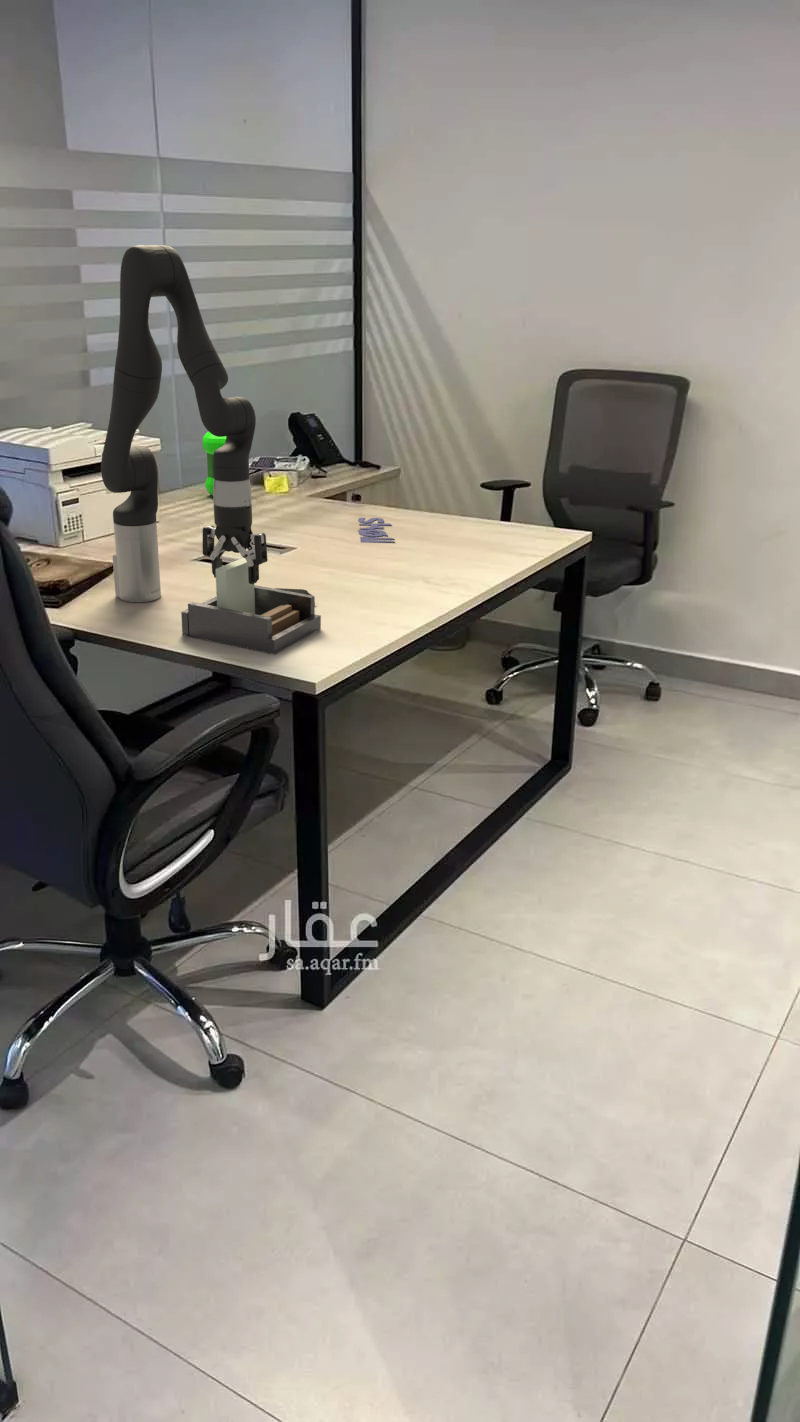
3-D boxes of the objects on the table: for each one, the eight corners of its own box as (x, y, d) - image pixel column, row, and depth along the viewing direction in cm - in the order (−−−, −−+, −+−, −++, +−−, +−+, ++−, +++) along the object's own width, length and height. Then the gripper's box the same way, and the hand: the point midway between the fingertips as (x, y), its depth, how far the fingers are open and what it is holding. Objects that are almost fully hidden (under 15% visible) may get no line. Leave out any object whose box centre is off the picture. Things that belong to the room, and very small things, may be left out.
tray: (182, 635, 219) (180, 602, 216) (232, 611, 234) (231, 580, 231) (274, 654, 210) (274, 620, 208) (320, 628, 225) (320, 597, 222)
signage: (357, 517, 318) (390, 517, 319) (357, 519, 318) (390, 520, 319) (358, 541, 292) (395, 541, 293) (358, 543, 292) (395, 544, 293)
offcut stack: (250, 644, 216) (249, 618, 214) (282, 627, 226) (281, 602, 224) (268, 648, 214) (268, 621, 212) (299, 631, 224) (299, 606, 222)
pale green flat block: (218, 634, 220) (215, 568, 214) (245, 621, 228) (243, 557, 223) (228, 636, 219) (225, 570, 214) (255, 623, 227) (253, 559, 222)
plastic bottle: (216, 501, 334) (212, 418, 324) (198, 494, 341) (195, 414, 331) (243, 497, 340) (241, 416, 330) (225, 491, 347) (223, 412, 337)
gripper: (192, 500, 213) (196, 579, 219) (251, 508, 207) (254, 589, 213) (214, 494, 219) (217, 571, 225) (273, 502, 213) (275, 580, 220)
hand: (235, 580), depth 219 cm, fingers open, 8 cm apart
